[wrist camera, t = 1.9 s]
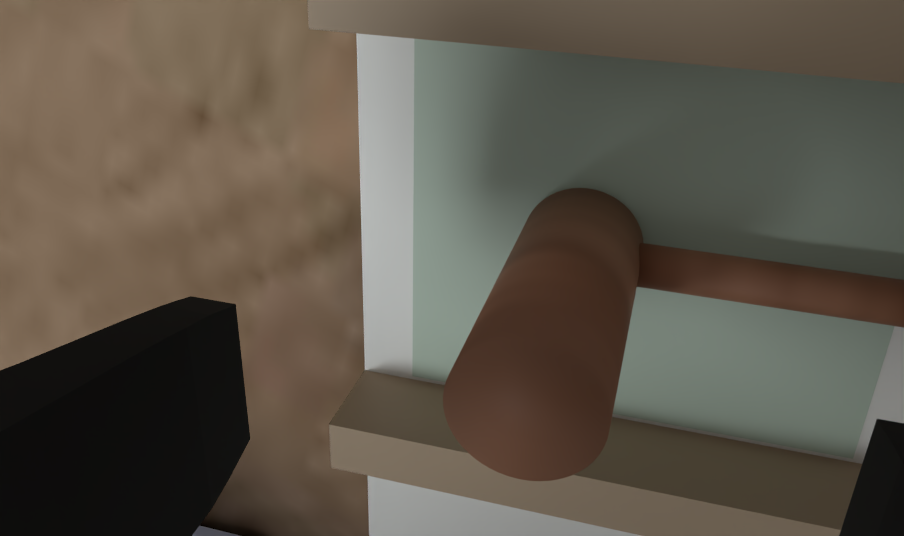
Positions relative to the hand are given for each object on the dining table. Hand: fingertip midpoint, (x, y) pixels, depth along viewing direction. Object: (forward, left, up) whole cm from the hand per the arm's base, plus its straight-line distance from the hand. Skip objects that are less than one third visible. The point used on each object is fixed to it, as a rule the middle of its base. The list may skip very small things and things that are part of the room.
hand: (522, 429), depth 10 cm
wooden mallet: (+6, 0, -5) cm, 8 cm away
